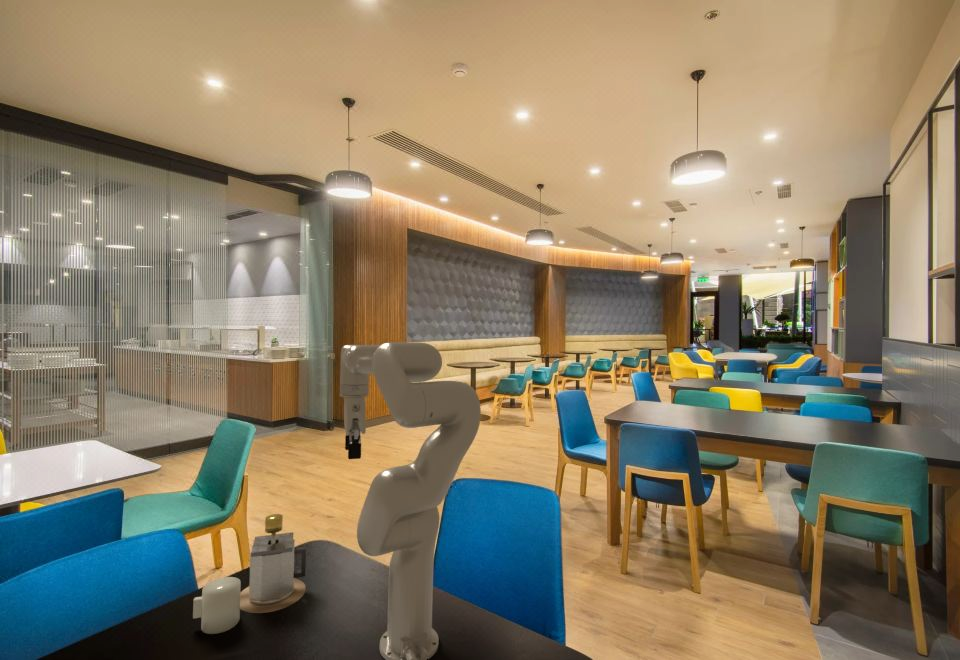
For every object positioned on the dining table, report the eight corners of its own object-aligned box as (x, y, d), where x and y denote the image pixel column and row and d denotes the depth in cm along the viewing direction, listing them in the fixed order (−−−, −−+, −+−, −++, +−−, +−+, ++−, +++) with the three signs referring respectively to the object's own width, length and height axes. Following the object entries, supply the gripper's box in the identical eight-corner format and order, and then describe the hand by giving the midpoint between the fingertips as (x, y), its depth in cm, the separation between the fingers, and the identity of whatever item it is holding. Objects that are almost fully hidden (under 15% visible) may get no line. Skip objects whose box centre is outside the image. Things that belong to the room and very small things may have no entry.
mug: (237, 632, 102) (238, 591, 102) (189, 641, 99) (190, 599, 99) (241, 612, 109) (242, 574, 109) (196, 620, 106) (198, 581, 106)
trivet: (305, 608, 111) (305, 605, 111) (231, 621, 106) (231, 618, 106) (305, 575, 126) (305, 572, 126) (240, 585, 121) (240, 582, 121)
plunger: (287, 592, 114) (289, 521, 114) (253, 597, 111) (255, 524, 111) (288, 576, 121) (290, 509, 121) (256, 581, 118) (258, 513, 118)
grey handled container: (304, 599, 114) (306, 546, 114) (246, 609, 109) (247, 554, 110) (304, 578, 124) (306, 529, 124) (251, 586, 119) (252, 536, 119)
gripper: (372, 394, 117) (371, 461, 117) (364, 386, 134) (363, 445, 133) (342, 395, 115) (340, 463, 115) (337, 387, 131) (336, 447, 131)
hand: (352, 453), depth 124 cm, fingers open, 9 cm apart
